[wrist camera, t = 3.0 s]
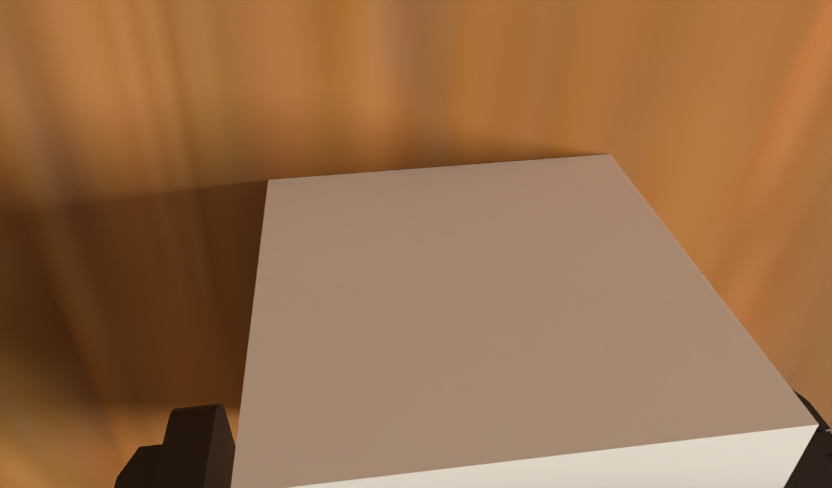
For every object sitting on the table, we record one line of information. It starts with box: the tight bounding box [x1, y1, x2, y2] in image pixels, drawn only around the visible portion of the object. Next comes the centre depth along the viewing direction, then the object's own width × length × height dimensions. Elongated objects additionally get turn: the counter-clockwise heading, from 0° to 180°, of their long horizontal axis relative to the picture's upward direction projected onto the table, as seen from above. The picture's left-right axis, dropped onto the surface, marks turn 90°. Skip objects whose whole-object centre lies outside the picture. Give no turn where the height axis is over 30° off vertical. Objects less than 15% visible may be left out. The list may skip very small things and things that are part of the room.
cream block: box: [231, 154, 819, 488], centre depth 11 cm, size 6×6×6 cm
